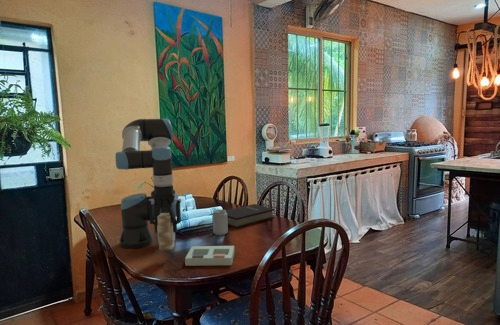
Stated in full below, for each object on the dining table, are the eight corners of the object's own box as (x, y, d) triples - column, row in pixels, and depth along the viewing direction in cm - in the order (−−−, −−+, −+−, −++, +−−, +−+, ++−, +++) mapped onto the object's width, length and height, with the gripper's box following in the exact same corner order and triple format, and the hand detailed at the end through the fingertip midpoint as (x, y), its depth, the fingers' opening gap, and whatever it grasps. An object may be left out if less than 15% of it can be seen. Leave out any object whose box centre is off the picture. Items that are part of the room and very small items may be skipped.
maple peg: (159, 249, 142) (157, 216, 140) (162, 245, 147) (161, 213, 145) (171, 249, 142) (169, 216, 140) (174, 245, 147) (172, 212, 145)
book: (252, 212, 218) (252, 203, 218) (274, 218, 203) (274, 208, 203) (215, 221, 200) (215, 211, 200) (236, 229, 186) (236, 218, 185)
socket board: (185, 265, 139) (184, 256, 138) (192, 252, 152) (191, 244, 152) (231, 265, 138) (231, 256, 137) (234, 252, 151) (234, 244, 151)
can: (225, 236, 173) (224, 212, 172) (211, 235, 175) (210, 212, 174) (229, 231, 181) (228, 208, 179) (215, 230, 182) (214, 208, 181)
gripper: (138, 187, 138) (142, 243, 141) (183, 186, 137) (186, 242, 140) (144, 183, 145) (148, 236, 148) (187, 182, 144) (190, 236, 148)
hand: (166, 239), depth 144 cm, fingers closed on maple peg, 5 cm apart
